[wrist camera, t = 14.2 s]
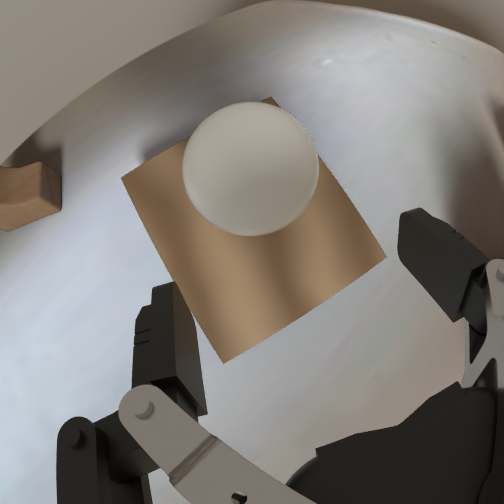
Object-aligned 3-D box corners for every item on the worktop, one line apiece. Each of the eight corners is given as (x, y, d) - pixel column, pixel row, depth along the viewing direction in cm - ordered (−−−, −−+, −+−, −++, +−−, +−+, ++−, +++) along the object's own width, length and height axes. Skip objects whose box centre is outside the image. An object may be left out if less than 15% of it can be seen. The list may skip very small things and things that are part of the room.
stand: (229, 351, 26) (223, 363, 20) (143, 201, 28) (120, 177, 22) (360, 267, 27) (387, 257, 21) (267, 132, 30) (270, 96, 24)
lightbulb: (281, 271, 21) (314, 235, 10) (193, 245, 21) (142, 187, 11) (304, 188, 22) (344, 96, 11) (221, 165, 23) (202, 63, 12)
